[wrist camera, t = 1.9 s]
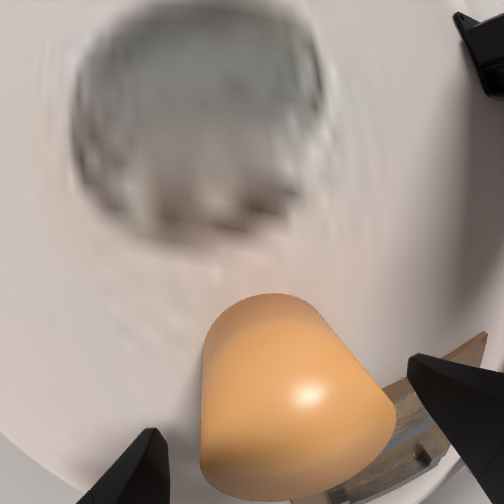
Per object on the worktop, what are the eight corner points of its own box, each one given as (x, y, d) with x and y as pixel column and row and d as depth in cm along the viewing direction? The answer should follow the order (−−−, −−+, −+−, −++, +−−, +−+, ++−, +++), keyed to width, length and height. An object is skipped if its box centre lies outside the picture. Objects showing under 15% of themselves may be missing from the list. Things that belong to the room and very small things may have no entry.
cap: (320, 278, 11) (405, 352, 5) (332, 379, 13) (385, 466, 7) (186, 311, 11) (165, 419, 5) (223, 409, 12) (232, 511, 6)
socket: (483, 331, 14) (501, 342, 12) (442, 452, 17) (451, 463, 16) (267, 428, 13) (274, 455, 11) (298, 516, 16) (302, 531, 14)
